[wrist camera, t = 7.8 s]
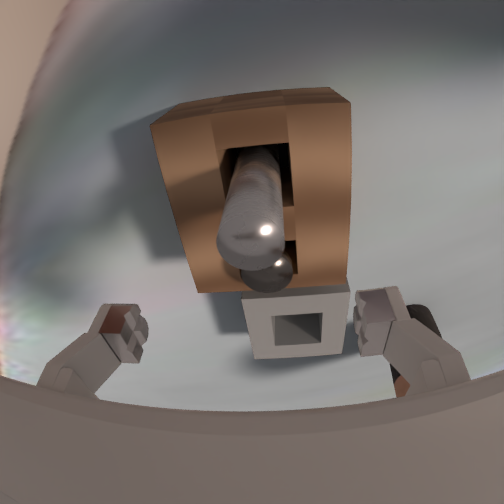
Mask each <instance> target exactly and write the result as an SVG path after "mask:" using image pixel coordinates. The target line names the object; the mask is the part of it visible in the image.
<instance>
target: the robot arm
mask: <svg viewBox="0 0 504 504" xmlns="http://www.w3.org/2000/svg"><path fill="white" fill-rule="evenodd" d="M355 301H356V306H355V307H354V313H353V322H354V328H355V333H356V334H358V335H359V336H358V347H359V352H360V356H361V357H364V356H374V355H383V356H384V357H385V358H386V359H387V360H388V361H389V363H390V364H391V365H392V366H393V367H394V368H395V369H396V370H397V371H398V372H399V373H400V374H401V375H402V376H403V377H404V378H405V380H406V381H407V382H408V383H409V384H410V387H409V389H408V391H407V393H406V395H405V396H403V397H398V398H392V399H386V400H380V401H374V402H367V403H360V404H353V405H345V406H336V407H326V408H315V409H302V410H285V411H248V412H237V411H200V410H182V409H169V408H158V407H149V406H140V405H132V404H125V403H118V402H111V401H105V400H100V399H99V398H98V397H97V396H96V395H95V394H94V393H95V392H96V391H97V390H98V389H99V388H100V387H101V385H102V384H103V383H104V382H105V381H106V380H107V379H108V378H109V377H110V376H111V374H112V373H113V372H114V371H115V370H116V369H117V368H118V367H119V366H120V365H121V363H139V362H140V359H141V356H142V353H143V348H142V345H143V344H144V343H145V342H146V341H147V338H148V325H147V322H146V320H145V318H143V317H142V316H141V315H140V312H141V310H140V308H139V306H138V305H137V304H103V305H101V307H100V309H99V311H98V313H97V315H96V317H95V319H94V321H93V323H92V325H91V327H90V329H89V331H88V333H84V334H82V335H81V336H80V337H79V338H77V339H76V340H75V341H74V342H72V343H71V344H70V345H69V346H67V347H66V348H65V349H64V350H63V351H61V352H60V353H59V354H58V355H56V356H55V357H54V358H53V359H51V360H50V361H49V362H48V363H47V364H46V366H45V368H44V370H43V372H42V374H41V376H40V378H39V381H38V383H37V385H36V386H35V385H31V384H27V383H24V382H20V381H17V380H13V379H10V378H7V377H4V376H1V375H0V504H504V370H502V371H499V372H496V373H493V374H489V375H486V376H483V377H480V378H477V379H473V380H471V379H470V376H469V374H468V371H467V368H466V366H465V363H464V361H463V358H462V356H461V353H460V352H459V351H458V350H456V349H455V348H454V347H452V346H451V345H450V344H448V343H447V342H446V341H445V340H443V339H442V338H441V337H439V336H438V335H437V334H435V333H434V332H433V331H431V330H430V329H429V328H427V327H426V326H424V325H423V324H422V323H420V322H419V321H418V320H416V319H415V318H412V319H411V318H410V315H409V313H408V310H407V308H406V305H405V303H404V300H403V298H402V295H401V293H400V291H399V288H398V287H397V286H392V287H384V288H376V289H367V290H358V291H356V295H355Z"/></svg>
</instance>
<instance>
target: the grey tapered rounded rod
mask: <svg viewBox="0 0 504 504" xmlns="http://www.w3.org/2000/svg"><path fill="white" fill-rule="evenodd" d="M216 245H217V249H218V252H219V254H220V255H221V257H222V258H223V259H224V260H225V261H226V262H227V263H229V264H230V265H232V266H234V267H236V268H239V269H242V270H249V271H255V270H261V269H265V268H267V267H270V266H271V265H273V264H274V263H276V262H277V261H278V260H279V259H280V257H281V256H282V254H283V251H284V247H285V237H284V220H283V205H282V190H281V175H280V162H279V149H278V143H275V144H264V145H254V146H245V147H240V150H239V153H238V157H237V160H236V164H235V168H234V172H233V175H232V179H231V183H230V187H229V190H228V194H227V198H226V202H225V206H224V210H223V214H222V218H221V221H220V225H219V229H218V233H217V238H216Z"/></svg>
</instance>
